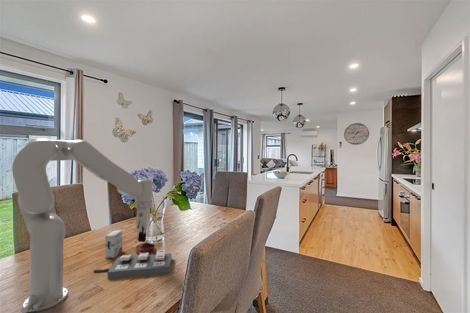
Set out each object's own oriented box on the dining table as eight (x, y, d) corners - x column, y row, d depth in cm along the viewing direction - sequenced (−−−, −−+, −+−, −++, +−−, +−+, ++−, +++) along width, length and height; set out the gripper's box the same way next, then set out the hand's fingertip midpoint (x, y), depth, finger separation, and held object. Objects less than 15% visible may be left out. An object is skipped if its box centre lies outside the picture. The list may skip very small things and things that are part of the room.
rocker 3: (164, 259, 106) (164, 257, 106) (155, 260, 105) (155, 258, 105) (165, 251, 112) (165, 249, 111) (157, 252, 111) (157, 250, 110)
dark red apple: (137, 258, 124) (136, 240, 128) (155, 254, 127) (154, 236, 131) (134, 257, 114) (133, 237, 118) (155, 252, 118) (153, 233, 122)
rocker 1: (128, 260, 102) (128, 257, 102) (119, 260, 101) (119, 257, 102) (131, 257, 108) (131, 254, 108) (122, 257, 107) (123, 254, 107)
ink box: (113, 250, 122) (114, 229, 122) (122, 250, 122) (122, 230, 122) (104, 257, 114) (104, 235, 114) (113, 258, 114) (114, 235, 114)
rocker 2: (146, 259, 104) (146, 256, 104) (137, 260, 103) (137, 257, 103) (148, 255, 110) (148, 252, 110) (140, 255, 109) (140, 253, 109)
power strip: (169, 273, 100) (169, 266, 100) (87, 280, 93) (87, 273, 93) (171, 258, 114) (171, 252, 114) (99, 264, 107) (100, 257, 107)
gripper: (148, 207, 102) (147, 246, 101) (153, 201, 116) (152, 235, 116) (131, 207, 100) (129, 247, 100) (138, 201, 115) (137, 235, 114)
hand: (142, 240), depth 108 cm, fingers closed
